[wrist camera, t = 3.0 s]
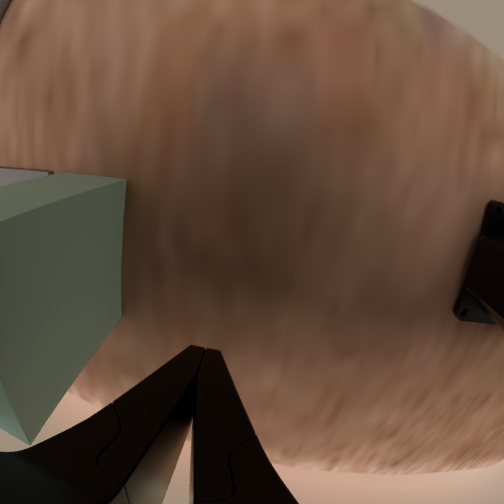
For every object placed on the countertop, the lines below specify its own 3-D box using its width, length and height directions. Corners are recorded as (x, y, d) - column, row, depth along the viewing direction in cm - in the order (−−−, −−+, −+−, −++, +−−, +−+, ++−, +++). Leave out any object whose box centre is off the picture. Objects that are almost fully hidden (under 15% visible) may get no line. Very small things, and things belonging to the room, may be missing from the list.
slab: (127, 179, 13) (-34, 235, 4) (122, 316, 15) (30, 445, 7) (63, 172, 13) (-92, 216, 4) (65, 300, 15) (-37, 402, 7)
